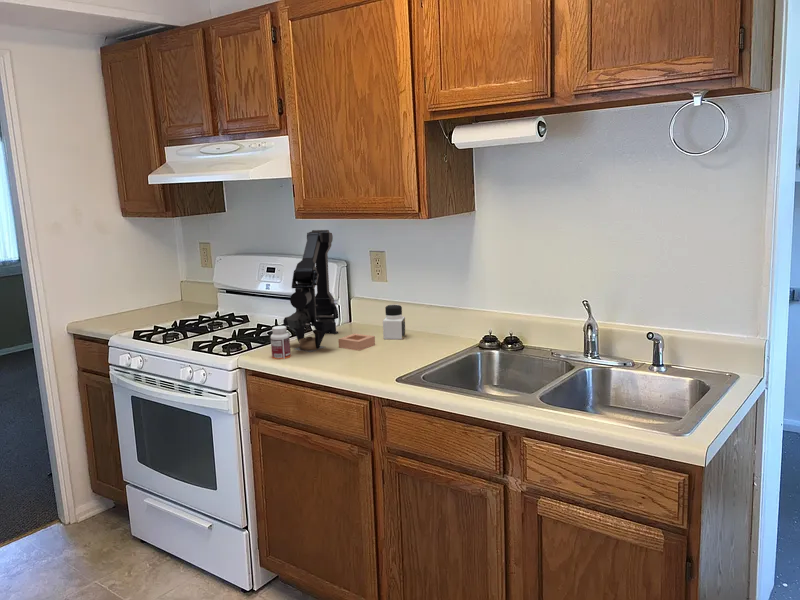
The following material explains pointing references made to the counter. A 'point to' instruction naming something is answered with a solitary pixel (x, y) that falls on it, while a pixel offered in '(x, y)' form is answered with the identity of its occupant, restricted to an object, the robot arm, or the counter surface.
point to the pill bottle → (280, 343)
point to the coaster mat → (310, 350)
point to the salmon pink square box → (356, 341)
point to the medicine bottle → (393, 323)
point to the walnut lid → (307, 344)
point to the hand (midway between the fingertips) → (309, 347)
